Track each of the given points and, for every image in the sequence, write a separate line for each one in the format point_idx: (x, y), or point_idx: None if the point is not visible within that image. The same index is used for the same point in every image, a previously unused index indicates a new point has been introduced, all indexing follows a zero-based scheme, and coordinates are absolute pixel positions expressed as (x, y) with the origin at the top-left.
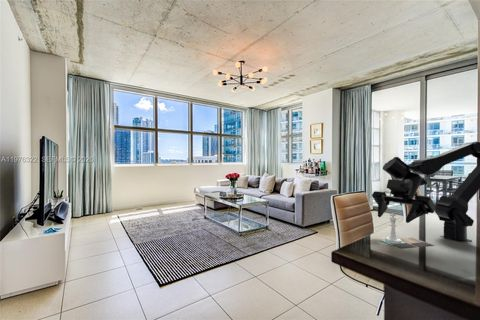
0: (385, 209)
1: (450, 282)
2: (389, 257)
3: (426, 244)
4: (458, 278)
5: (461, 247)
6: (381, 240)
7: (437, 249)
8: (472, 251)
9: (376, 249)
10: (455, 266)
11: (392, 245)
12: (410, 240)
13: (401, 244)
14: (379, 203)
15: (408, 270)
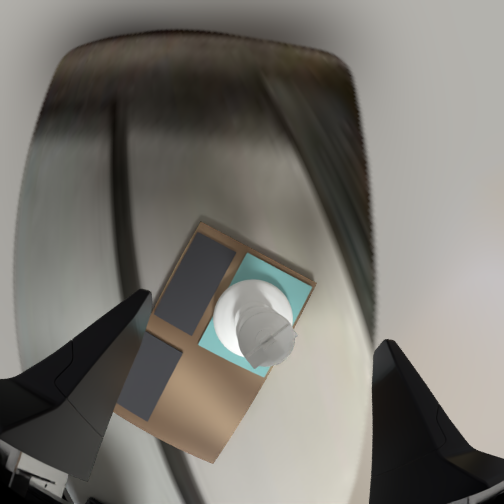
0: (376, 471)
1: (74, 88)
2: (211, 117)
3: (130, 387)
4: (55, 123)
5: None
6: (300, 283)
7: None
8: None
9: (276, 165)
10: (46, 209)
11: (237, 250)
12: (201, 413)
13: (208, 294)
14: (453, 442)
15: (149, 72)
